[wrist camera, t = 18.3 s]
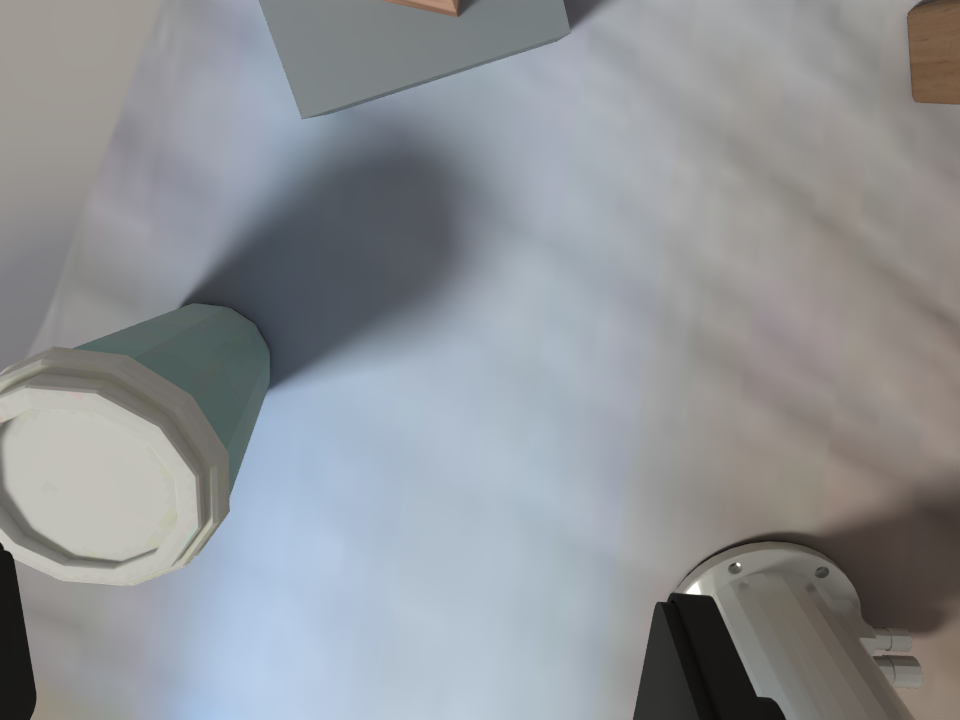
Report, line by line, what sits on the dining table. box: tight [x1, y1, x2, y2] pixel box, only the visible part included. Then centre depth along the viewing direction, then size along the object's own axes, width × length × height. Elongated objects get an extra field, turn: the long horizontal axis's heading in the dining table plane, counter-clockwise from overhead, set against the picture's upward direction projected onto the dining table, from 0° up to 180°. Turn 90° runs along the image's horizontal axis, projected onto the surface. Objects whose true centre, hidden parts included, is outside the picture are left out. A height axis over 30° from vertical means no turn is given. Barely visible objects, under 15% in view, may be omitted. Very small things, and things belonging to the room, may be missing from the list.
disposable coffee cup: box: [0, 303, 270, 586], centre depth 34 cm, size 11×11×15 cm
